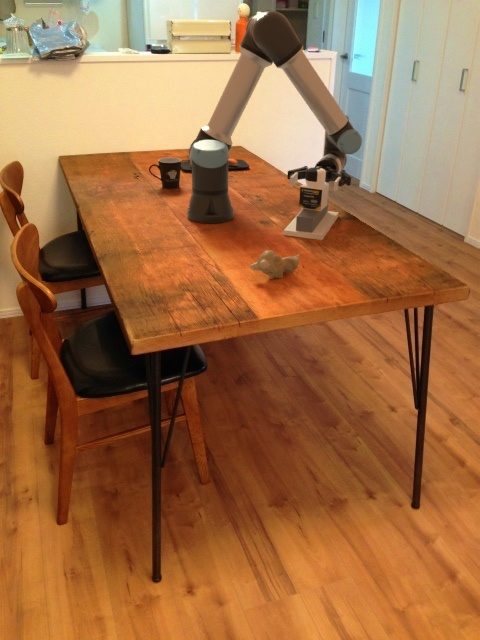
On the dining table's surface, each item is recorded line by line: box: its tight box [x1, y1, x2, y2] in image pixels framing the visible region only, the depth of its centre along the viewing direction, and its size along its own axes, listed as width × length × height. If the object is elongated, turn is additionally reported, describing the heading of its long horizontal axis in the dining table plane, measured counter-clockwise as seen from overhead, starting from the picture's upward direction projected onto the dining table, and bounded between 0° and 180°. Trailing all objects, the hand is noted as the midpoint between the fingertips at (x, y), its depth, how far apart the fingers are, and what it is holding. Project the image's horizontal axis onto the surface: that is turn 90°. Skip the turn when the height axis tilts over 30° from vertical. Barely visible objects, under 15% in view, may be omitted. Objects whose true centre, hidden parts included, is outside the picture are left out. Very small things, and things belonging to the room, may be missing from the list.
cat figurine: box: [249, 249, 301, 280], centre depth 151 cm, size 8×7×12 cm
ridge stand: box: [283, 198, 339, 241], centre depth 187 cm, size 24×12×6 cm, turn 160°
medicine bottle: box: [298, 166, 330, 211], centre depth 183 cm, size 7×7×12 cm
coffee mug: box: [148, 157, 182, 190], centre depth 225 cm, size 12×9×10 cm
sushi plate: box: [181, 158, 250, 172], centre depth 261 cm, size 29×30×4 cm
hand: (312, 184), depth 180 cm, fingers open, 13 cm apart
